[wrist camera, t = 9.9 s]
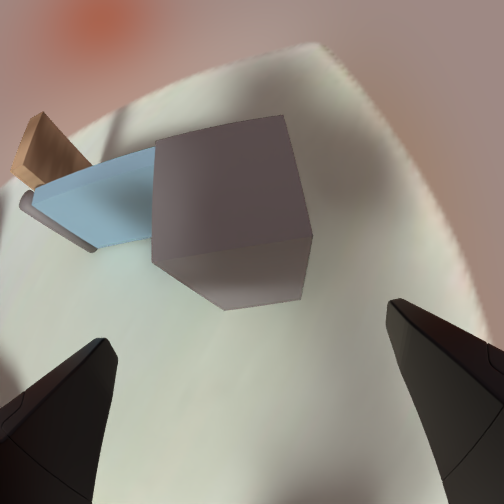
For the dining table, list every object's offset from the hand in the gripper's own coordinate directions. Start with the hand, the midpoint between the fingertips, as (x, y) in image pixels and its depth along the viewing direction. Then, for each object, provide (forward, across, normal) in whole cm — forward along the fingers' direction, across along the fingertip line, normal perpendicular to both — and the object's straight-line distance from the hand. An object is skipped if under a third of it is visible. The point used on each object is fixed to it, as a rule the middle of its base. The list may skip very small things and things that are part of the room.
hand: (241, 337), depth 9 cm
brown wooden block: (+17, +13, -2) cm, 21 cm away
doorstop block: (+11, 0, +4) cm, 12 cm away
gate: (+14, +7, +1) cm, 15 cm away
